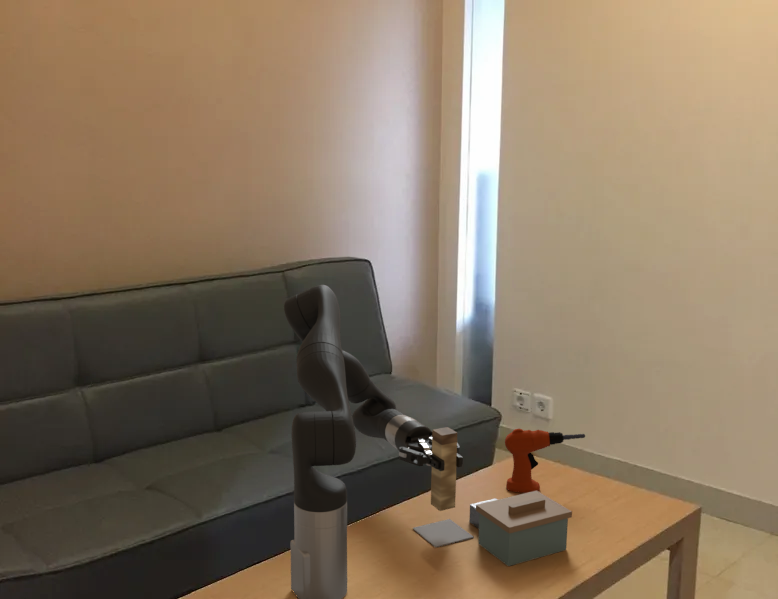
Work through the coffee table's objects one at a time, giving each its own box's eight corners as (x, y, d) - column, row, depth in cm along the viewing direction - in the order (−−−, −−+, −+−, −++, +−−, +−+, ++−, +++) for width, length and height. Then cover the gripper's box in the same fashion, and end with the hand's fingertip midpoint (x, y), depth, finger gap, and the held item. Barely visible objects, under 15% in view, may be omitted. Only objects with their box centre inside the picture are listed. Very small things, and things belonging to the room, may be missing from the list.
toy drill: (590, 489, 188) (585, 427, 185) (507, 496, 190) (501, 434, 187) (587, 481, 193) (582, 419, 190) (506, 487, 195) (500, 426, 192)
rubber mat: (435, 547, 164) (435, 546, 164) (412, 529, 171) (412, 527, 171) (473, 537, 168) (473, 536, 168) (449, 520, 176) (449, 518, 176)
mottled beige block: (440, 511, 166) (441, 435, 163) (430, 504, 169) (432, 429, 166) (455, 507, 168) (457, 432, 165) (445, 500, 171) (447, 426, 168)
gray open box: (487, 535, 169) (488, 516, 168) (469, 522, 175) (469, 504, 174) (513, 528, 172) (514, 510, 171) (495, 515, 178) (495, 498, 177)
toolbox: (507, 568, 156) (509, 519, 154) (474, 543, 166) (476, 497, 164) (569, 550, 163) (572, 503, 161) (534, 527, 173) (536, 483, 171)
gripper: (380, 425, 175) (421, 452, 160) (437, 415, 182) (482, 440, 167) (379, 458, 176) (420, 489, 162) (436, 447, 183) (481, 475, 168)
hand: (451, 464), depth 164 cm, fingers closed on mottled beige block, 3 cm apart
